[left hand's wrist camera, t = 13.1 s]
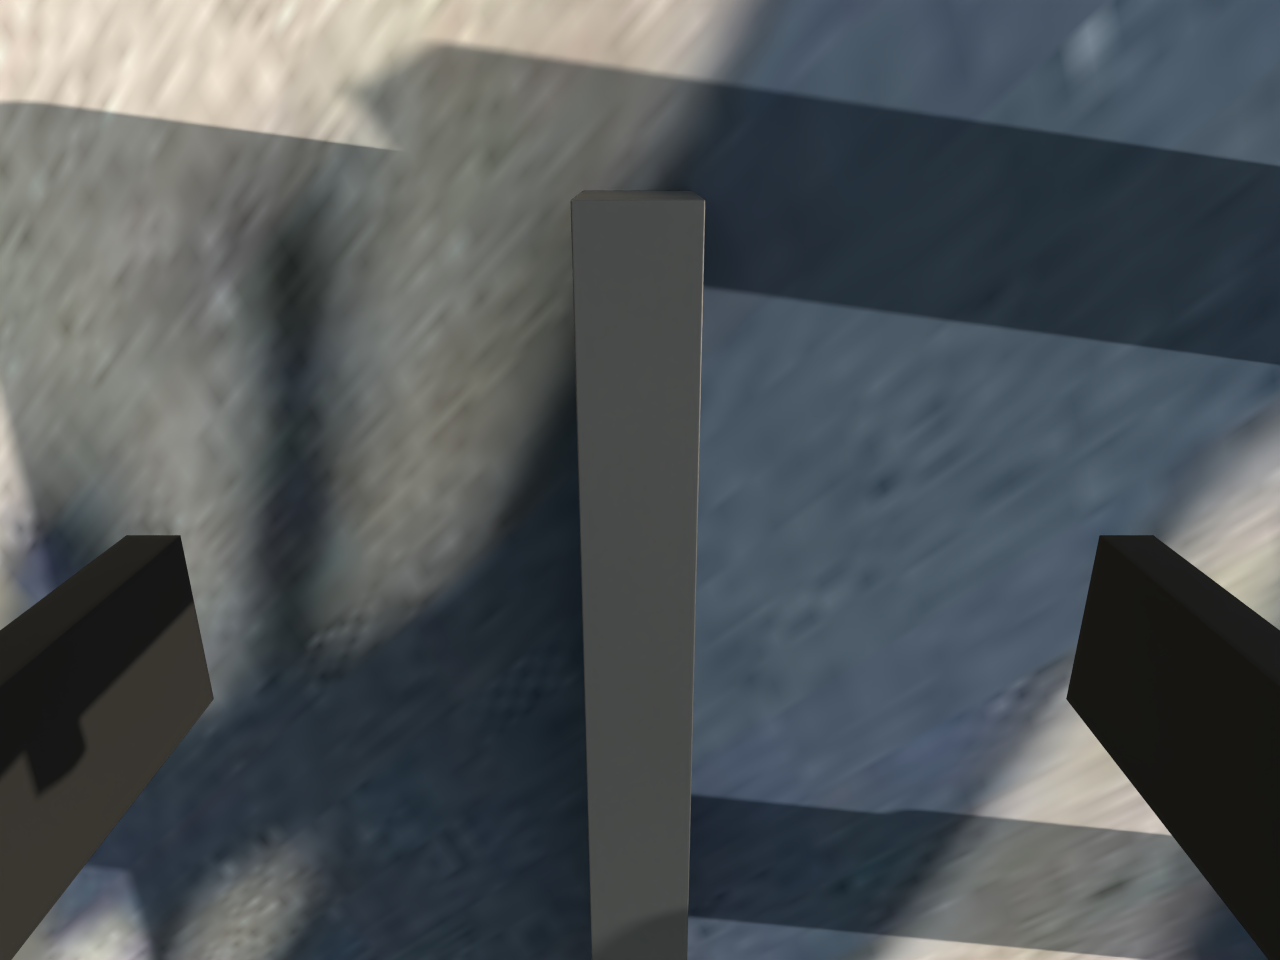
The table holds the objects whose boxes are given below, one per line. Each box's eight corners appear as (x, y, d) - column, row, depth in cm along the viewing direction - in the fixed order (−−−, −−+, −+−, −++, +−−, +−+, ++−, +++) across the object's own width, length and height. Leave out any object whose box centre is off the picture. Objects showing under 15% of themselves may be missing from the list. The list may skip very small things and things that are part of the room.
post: (582, 190, 39) (570, 199, 32) (692, 190, 39) (705, 199, 32) (602, 1064, 58) (598, 1192, 51) (675, 1064, 58) (681, 1192, 51)
